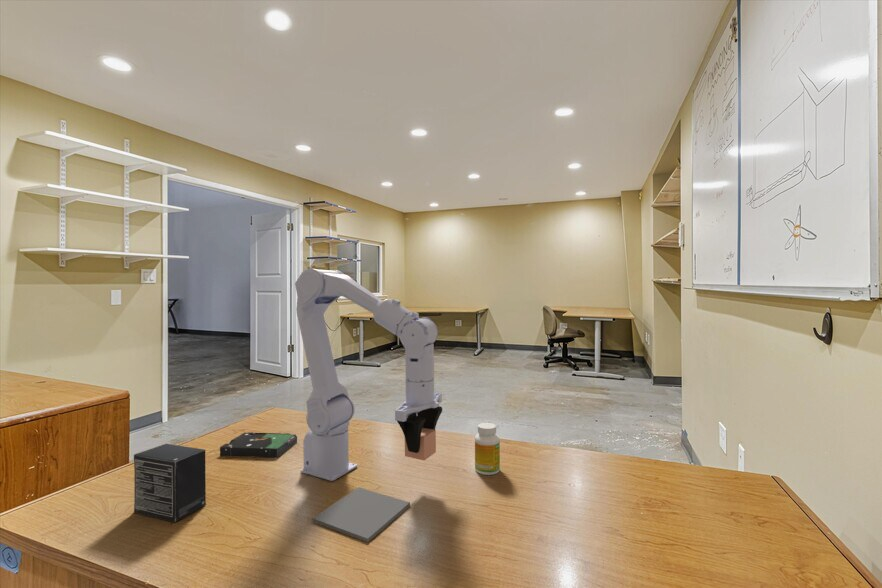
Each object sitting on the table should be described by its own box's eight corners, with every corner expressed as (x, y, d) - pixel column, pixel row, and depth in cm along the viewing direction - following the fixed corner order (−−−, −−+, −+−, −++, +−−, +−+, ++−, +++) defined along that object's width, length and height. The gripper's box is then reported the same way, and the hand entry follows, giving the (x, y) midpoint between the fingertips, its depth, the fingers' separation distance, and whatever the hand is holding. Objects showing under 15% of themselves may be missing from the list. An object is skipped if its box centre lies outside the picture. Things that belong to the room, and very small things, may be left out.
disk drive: (219, 458, 95) (278, 459, 94) (218, 447, 95) (278, 447, 94) (244, 442, 106) (298, 443, 104) (243, 432, 106) (297, 432, 104)
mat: (312, 521, 68) (312, 518, 68) (358, 490, 78) (358, 487, 78) (367, 542, 62) (367, 538, 62) (410, 505, 72) (410, 502, 72)
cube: (404, 456, 79) (404, 433, 79) (416, 448, 83) (416, 426, 83) (424, 460, 76) (424, 437, 76) (435, 452, 80) (435, 430, 80)
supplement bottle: (499, 476, 83) (498, 430, 83) (473, 474, 85) (473, 429, 84) (500, 465, 89) (500, 422, 89) (476, 463, 90) (476, 420, 90)
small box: (209, 504, 74) (208, 448, 74) (175, 524, 68) (174, 462, 67) (167, 495, 77) (167, 441, 77) (132, 513, 71) (131, 454, 71)
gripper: (417, 389, 71) (418, 465, 71) (454, 374, 84) (454, 438, 84) (385, 385, 75) (386, 457, 75) (425, 371, 87) (425, 432, 87)
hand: (420, 446), depth 80 cm, fingers closed on cube, 4 cm apart
